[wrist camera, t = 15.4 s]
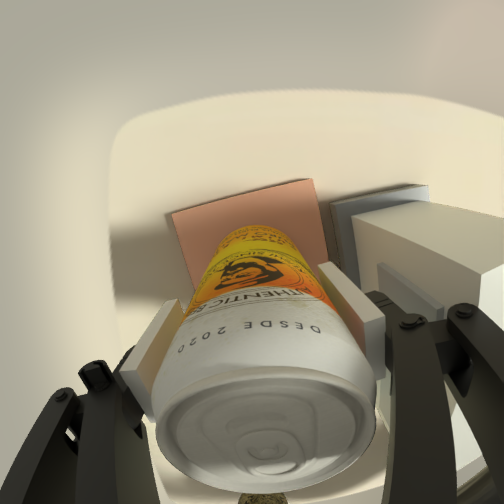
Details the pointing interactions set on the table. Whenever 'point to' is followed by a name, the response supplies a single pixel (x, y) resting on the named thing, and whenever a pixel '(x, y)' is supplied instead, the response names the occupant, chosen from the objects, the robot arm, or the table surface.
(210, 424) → the beer can
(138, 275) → the table surface
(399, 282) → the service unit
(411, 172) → the table surface
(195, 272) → the terracotta pad
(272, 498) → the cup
